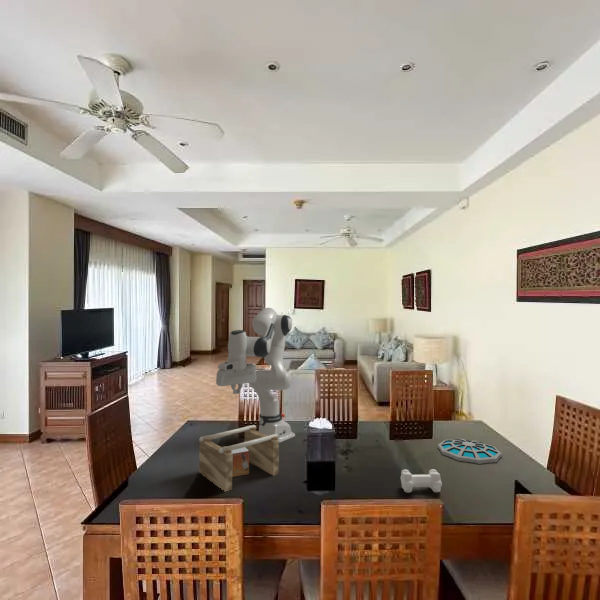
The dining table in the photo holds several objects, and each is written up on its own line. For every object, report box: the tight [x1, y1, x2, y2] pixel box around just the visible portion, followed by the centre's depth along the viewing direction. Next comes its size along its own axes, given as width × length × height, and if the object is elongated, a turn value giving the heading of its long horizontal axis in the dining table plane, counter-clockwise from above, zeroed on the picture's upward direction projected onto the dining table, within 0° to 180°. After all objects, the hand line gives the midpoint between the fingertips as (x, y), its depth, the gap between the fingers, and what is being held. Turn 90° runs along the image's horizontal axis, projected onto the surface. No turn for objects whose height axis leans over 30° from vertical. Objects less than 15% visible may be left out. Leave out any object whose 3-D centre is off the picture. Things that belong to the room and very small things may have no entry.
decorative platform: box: [437, 438, 503, 465], centre depth 200 cm, size 31×29×5 cm
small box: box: [231, 447, 250, 478], centre depth 174 cm, size 8×6×10 cm
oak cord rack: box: [198, 424, 280, 493], centre depth 174 cm, size 27×24×16 cm
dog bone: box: [399, 468, 443, 494], centre depth 158 cm, size 15×9×8 cm, turn 91°
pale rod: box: [198, 424, 257, 443], centre depth 181 cm, size 30×2×2 cm, turn 130°
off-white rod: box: [219, 434, 278, 453], centre depth 167 cm, size 30×2×2 cm, turn 130°
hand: (236, 393), depth 182 cm, fingers closed
